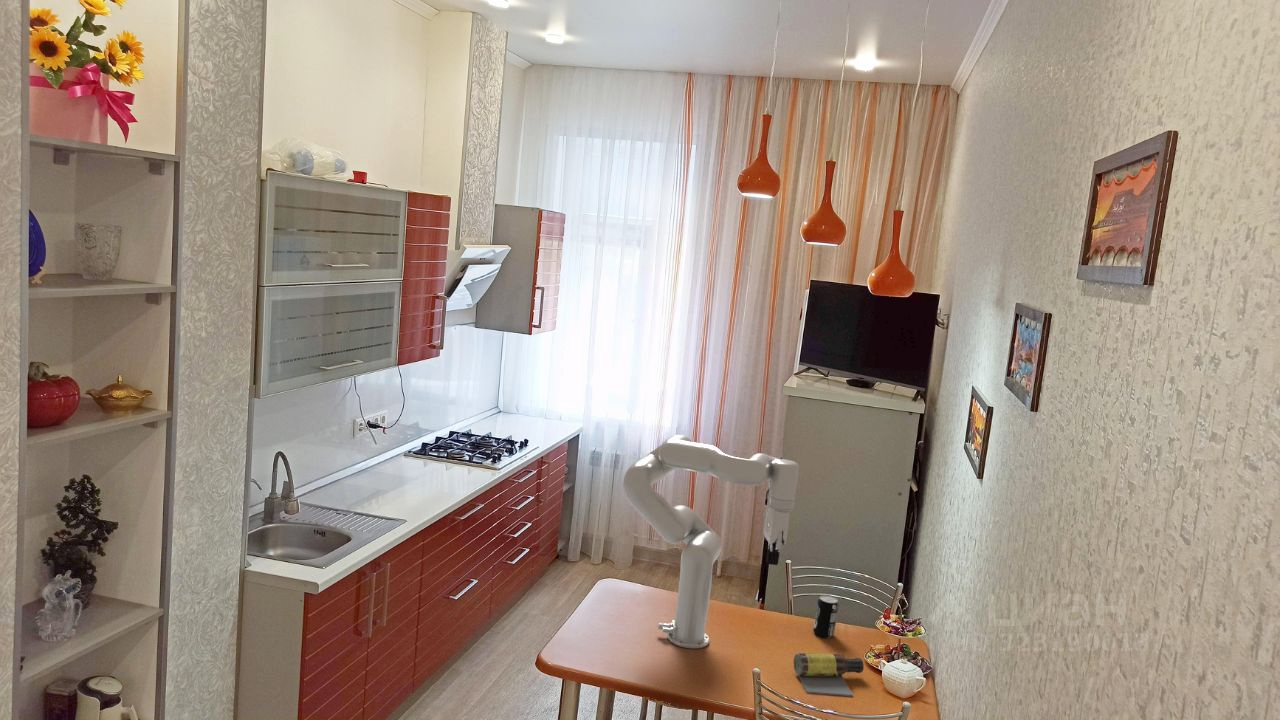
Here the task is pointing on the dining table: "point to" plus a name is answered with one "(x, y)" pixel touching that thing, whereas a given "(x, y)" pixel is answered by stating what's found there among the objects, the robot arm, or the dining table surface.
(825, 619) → the beverage can
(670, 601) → the dining table surface
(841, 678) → the mat
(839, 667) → the sauce bottle
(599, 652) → the dining table surface
